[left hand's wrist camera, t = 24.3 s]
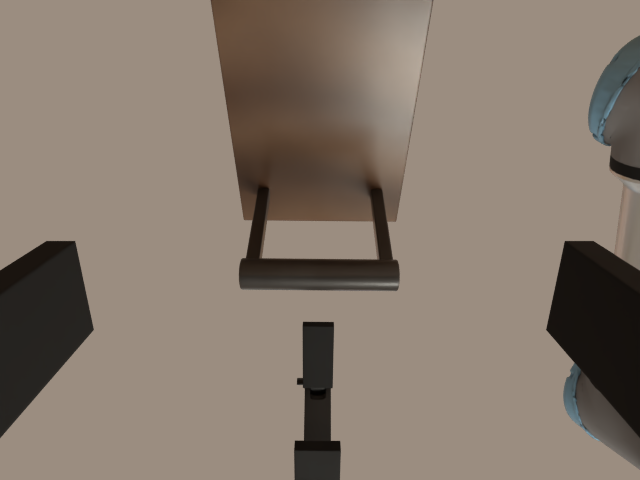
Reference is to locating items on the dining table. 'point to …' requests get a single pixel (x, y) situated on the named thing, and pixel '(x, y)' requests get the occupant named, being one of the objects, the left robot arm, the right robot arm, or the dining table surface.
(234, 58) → the lid
